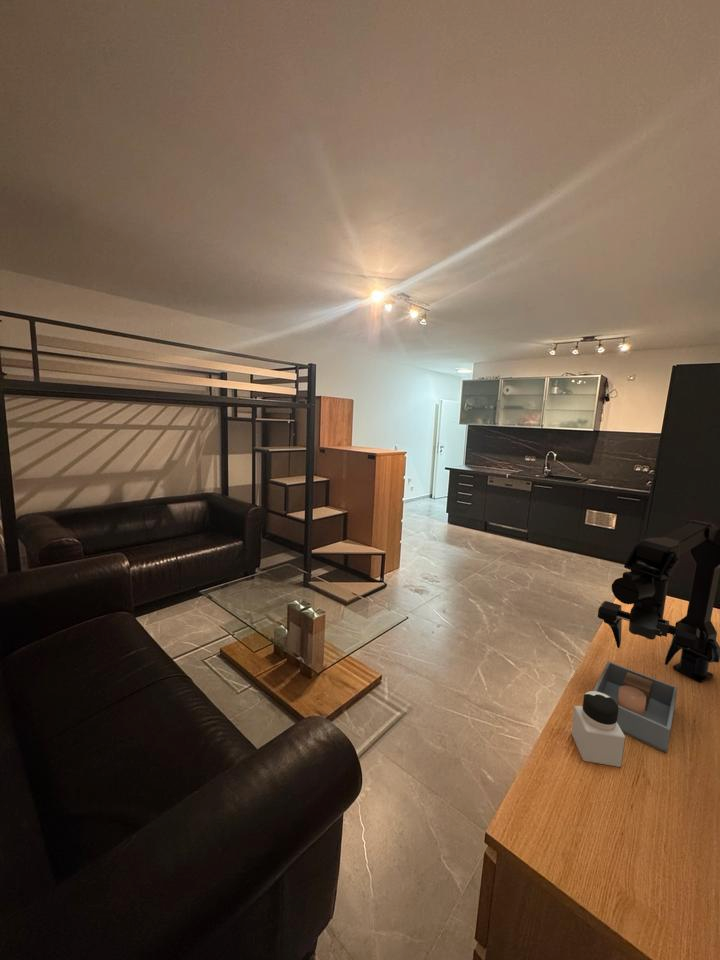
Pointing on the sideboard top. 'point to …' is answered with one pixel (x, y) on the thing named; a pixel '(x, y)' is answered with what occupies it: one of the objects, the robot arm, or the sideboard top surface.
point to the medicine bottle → (598, 730)
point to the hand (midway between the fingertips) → (641, 655)
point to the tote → (658, 713)
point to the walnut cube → (639, 685)
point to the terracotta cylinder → (632, 699)
